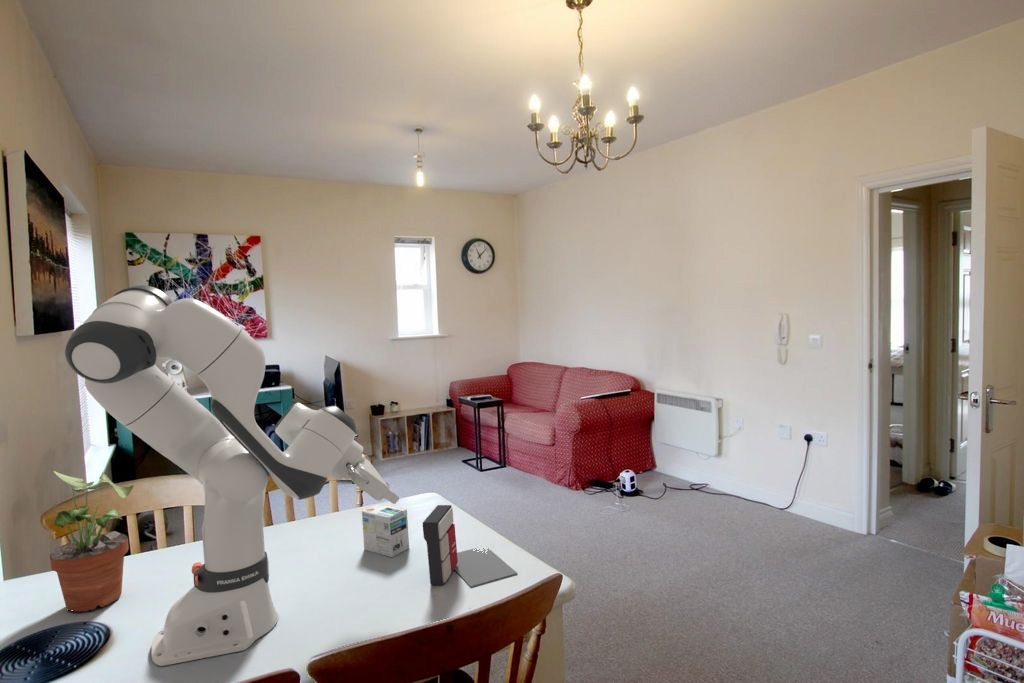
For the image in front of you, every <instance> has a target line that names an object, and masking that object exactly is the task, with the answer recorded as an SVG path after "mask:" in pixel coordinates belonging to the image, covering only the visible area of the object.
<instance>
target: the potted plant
mask: <svg viewBox="0 0 1024 683" xmlns="http://www.w3.org/2000/svg"><path fill="white" fill-rule="evenodd" d="M49 470H50V471H51V472H52V473H53V474H54V475H56V477H58V478H60V480H62V481H63V482H65V483H66V484H68V485H71V488H72V489H71V491H72V496H73V503H74V509H70V510H68V511H66V510H65V511H63V510H62V511H59V512H57V516H56V518H55V520H54V523H53V525H54V526H57V527H60V528H61V529H63V528H65V526H66V525H67V528H68V530H69V533H70V535H71V539H72V541H70V542H67V543H65V544H63V545H61V546H59V547H55V548H54V549H53V550H52V551H51V552H50V554H49V560H50V567H51V570H52V571H53V572H56V573H57V577H58V582H59V585H60V589H61V592H62V593H61V594H62V596H63V600H64V603H65V608H66V610H67V609H68V610H73V611H84V612H88V611H87V610H92V611H94V610H95V609H97V608H100V607H101V608H104V607H106V606H108V605H110V604H112V603H113V602H115V601H116V600H118V599H119V598H120V597H121V595H122V591H123V590H122V589H123V577H124V576H123V574H124V560H125V555H126V554H127V553H128V551H129V548H130V547H129V537H128V536H127V534H124V533H121V532H118V531H116V530H115V531H114V530H112V531H107V532H105V533H104V532H103V533H102V531H103V529H105V528H107V523H108V522H109V520H110V519H111V518H114V519H119V520H123V518H122V517H121V515H120V513H119V512H118V511H117V510H116V509H114V508H112V509H109V510H107V511H106V510H105V511H104V512H105V513H103V514H102V517H97V515H98V514H97V512H98V510H99V503H100V499H101V497H102V494H103V490H104V489H105V486H106V485H107V484H109V485H110V486H111V487H112V488H113V489H114V490H115V491H116V492H117V494H118V495H119V497H120V498H122V499H125V498H126V497H129V495H130V494H131V491H132V490H133V489H134V485H130V486H119V485H118V484H115V483H114V482H113V481H111V479H110V478H109V477H108V476H107V474H106V473H104V472H102V473H101V475H100V476H99V478H98V479H99V481H98V482H97V483H96V484H94V483H95V482H94V481H91V482H85V479H83V478H79V477H74V476H70V475H66V474H62V473H60V472H57V471H55V470H53V469H52V468H49ZM103 483H105V484H104V486H103V488H102V491H101V493H100V497H99V500H98V503H97V507H96V510H95V511H94V514H93V516H92V514H89V509H90V506H89V505H88V492H86V494H85V497H86V498H85V506H80V507H78V506H77V501H76V497H75V493H74V492H77V493H83V492H85V491H88V490H91V491H92V490H97V489H99V488H101V487H102V485H103ZM73 487H74V488H73ZM76 522H77V525H78V526H77V527H78V533H79V534H78V535H79V537H78V538H75V537H74V534H73V532H72V529H71V528H70V526H71V525H74V524H76ZM81 522H82V524H84V523H85V524H84V525H85V526H84V525H82V524H81ZM95 522H96V524H97V525H96V527H95V529H94V526H95ZM89 523H90V524H89ZM69 525H70V526H69ZM98 526H99V527H100V528H99V530H98V532H97V534H96V535H94V533H95V531H96V529H97V528H98ZM83 531H84V533H83ZM83 534H84V536H83ZM105 605H106V606H105ZM103 606H104V607H103ZM93 609H94V610H93Z"/></svg>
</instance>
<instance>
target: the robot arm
mask: <svg viewBox="0 0 1024 683" xmlns="http://www.w3.org/2000/svg"><path fill="white" fill-rule="evenodd" d="M64 351H65V352H64V354H65V360H66V361H67V364H68V366H69V367H70V368H71V369H72V371H74V373H76V374H77V375H78V376H80V377H81V378H83V379H84V386H85V388H86V390H87V391H88V393H89V394H90V395H91V397H93V399H94V400H95V401H96V402H97V403H98V404H99V405H100V406H101V408H103V409H104V410H105V411H106V412H107V413H108V414H109V415H110V416H112V417H113V418H114V419H115V420H116V421H117V422H118V423H120V424H121V425H122V426H123V427H125V428H126V429H128V430H129V431H130V432H131V433H132V434H134V435H135V436H137V437H138V438H139V439H141V440H142V441H143V442H144V443H145V444H147V445H148V446H150V447H151V448H152V449H154V450H155V451H156V452H158V453H159V454H161V455H162V456H163V457H165V458H166V459H168V460H169V461H171V462H172V463H173V464H175V465H176V466H177V467H179V468H180V469H182V470H183V471H184V472H186V473H187V474H188V475H189V476H191V477H192V478H193V479H195V480H196V481H197V482H198V483H200V484H201V485H202V488H203V490H204V513H203V514H204V515H203V523H202V525H201V526H202V527H201V533H202V534H201V535H202V536H201V537H202V548H203V550H202V551H203V562H204V563H202V562H200V561H197V562H195V563H193V565H192V566H191V574H192V575H193V587H191V588H190V589H189V590H188V591H187V592H186V593H185V594H183V596H181V597H180V598H179V599H178V600H176V601H175V602H174V603H173V605H172V606H171V607H170V609H169V611H168V613H167V615H166V618H165V620H164V626H163V628H161V630H159V631H158V633H157V634H156V635H155V637H154V638H153V641H152V644H151V651H150V654H151V655H150V656H151V660H152V662H153V663H154V664H155V665H157V666H160V667H164V666H169V665H174V664H179V663H180V664H181V663H184V662H190V661H195V660H201V659H205V658H210V657H212V658H213V657H217V656H221V655H228V654H231V653H237V652H242V651H245V650H247V649H249V647H251V645H253V643H254V642H255V641H257V640H258V639H259V638H260V637H262V636H264V635H266V634H267V633H268V632H270V631H271V630H272V629H273V628H274V627H275V626H276V624H277V622H278V620H279V616H278V613H277V611H276V608H275V605H274V602H273V598H272V595H271V591H270V587H269V586H270V584H269V581H270V564H269V557H268V554H267V552H266V551H265V550H266V549H265V536H264V520H263V519H264V518H263V517H264V508H265V507H264V505H265V498H266V497H265V496H266V488H267V486H268V483H269V480H270V478H271V479H272V480H273V482H274V483H275V485H276V487H278V488H279V489H280V491H282V493H284V494H285V495H287V496H289V497H291V498H293V499H296V500H298V501H300V500H301V501H302V500H306V499H309V498H312V497H315V496H318V495H319V494H320V492H322V489H324V486H325V484H326V483H327V481H328V479H329V476H330V477H332V478H333V479H334V480H335V481H340V480H343V479H345V480H346V481H347V480H351V481H352V482H353V484H355V486H357V487H358V488H359V489H361V490H362V491H363V492H365V493H366V494H367V495H368V496H370V497H371V498H372V499H374V500H375V501H378V502H381V501H382V500H383V499H384V500H386V501H388V502H390V503H391V504H393V505H396V504H397V503H398V501H399V500H400V496H398V495H397V494H396V493H394V491H392V490H391V489H390V484H389V483H388V482H387V481H386V480H385V479H383V477H382V476H381V475H380V473H379V472H378V471H377V469H376V468H375V467H374V465H373V464H372V463H371V462H370V461H369V459H367V458H366V455H365V454H363V452H364V446H362V445H361V444H360V443H359V442H357V441H356V440H355V438H356V436H357V426H356V422H355V419H353V418H352V417H351V416H350V415H348V414H347V413H346V412H345V411H343V410H342V409H340V408H339V407H338V406H336V405H331V406H324V407H322V408H321V407H320V408H318V409H317V410H316V409H312V408H310V407H308V406H306V405H304V404H302V403H301V402H295V403H293V404H292V405H291V406H290V407H289V408H288V409H287V410H286V412H285V413H284V414H283V415H282V416H281V418H280V419H279V420H278V422H277V423H276V425H275V428H274V432H275V434H276V435H277V436H278V437H279V438H280V439H281V440H282V441H283V442H284V443H285V444H286V445H288V446H287V448H286V449H285V450H284V451H282V450H281V448H279V446H278V445H277V444H275V442H274V441H273V440H272V439H271V438H270V437H269V436H268V434H266V433H265V431H264V430H263V429H261V427H260V426H259V425H258V423H257V422H256V418H255V406H256V402H257V397H258V395H259V391H260V390H261V387H262V384H263V382H264V379H265V372H266V358H265V357H266V356H265V353H264V350H263V348H262V346H261V345H260V344H259V343H258V342H257V340H255V339H254V338H253V337H252V336H251V335H249V334H248V333H247V332H246V331H245V330H244V329H243V328H242V327H240V326H239V325H237V324H236V323H235V322H234V321H232V320H231V319H230V318H228V317H226V316H225V315H224V314H222V313H221V312H219V311H217V310H216V309H214V308H212V307H211V306H209V305H207V304H206V303H204V302H202V301H200V300H199V299H195V298H191V297H186V298H181V299H178V300H175V301H173V300H172V299H171V298H170V297H169V296H168V295H167V294H166V293H165V292H163V291H162V290H161V289H159V288H157V287H155V286H151V285H145V284H143V285H133V286H130V287H126V288H123V289H122V290H119V291H117V292H116V293H115V294H114V295H113V296H112V297H110V298H109V299H107V300H105V301H104V302H103V303H102V304H100V305H99V306H98V307H96V308H95V309H94V310H93V311H92V313H91V314H90V315H89V316H88V317H87V319H86V320H84V322H83V323H82V324H80V325H79V326H77V328H75V329H74V331H73V332H72V334H71V335H70V337H69V338H68V340H67V343H66V345H65V350H64ZM157 358H169V359H172V360H174V361H176V362H177V363H179V364H181V365H182V366H184V367H185V368H186V369H187V370H189V371H190V372H191V373H192V374H194V375H196V376H197V377H198V378H199V379H200V380H201V381H202V382H203V383H204V384H205V386H206V388H207V390H208V391H209V393H210V396H211V398H212V400H211V403H210V409H211V411H212V412H211V411H210V410H208V408H206V407H205V406H204V405H203V404H201V403H200V402H199V400H197V399H196V398H194V397H193V396H192V395H191V394H190V393H189V392H187V391H186V390H185V389H184V388H183V387H182V386H181V385H179V384H178V383H177V382H176V381H174V380H173V379H172V378H171V377H169V376H168V375H167V374H166V373H164V371H162V370H161V369H160V368H159V367H158V366H157V365H156V361H157Z"/></svg>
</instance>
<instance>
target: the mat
mask: <svg viewBox="0 0 1024 683" xmlns="http://www.w3.org/2000/svg"><path fill="white" fill-rule="evenodd" d="M476 548H477V547H475V549H476ZM473 549H474V548H471V549H466V550H462V551H459V552H458V551H457V559H458V563H457V564H456V566H455V568H454V569H453V571H454V572H456V573H457V575H458V576H460V577H461V579H462V580H463V581H464V582H465V583H466V584H467V585H468V587H470V588H474V587H477V586H480V585H484V584H488V583H492V582H496V581H498V579H499V580H501V579H502V580H503V579H506V578H508V576H509V577H513V576H516V575H518V572H517V571H516V570H515V569H514V568H512V567H511V566H510V565H509V564H507V563H506V562H505V561H504V560H503V559H502V558H501V557H499V556H498V555H497V554H496V553H495V552H493V550H491V549H490V548H489V547H488V549H487V550H488V551H487V552H486V553H487V554H486V553H485V551H486V550H485V549H484V548H483V549H484V550H483V551H484V552H483V551H479V550H480V549H479V550H477V549H476V550H475V549H474V550H475V551H473ZM489 549H490V550H489ZM477 551H479V552H477ZM482 552H483V553H482ZM505 577H506V578H505Z"/></svg>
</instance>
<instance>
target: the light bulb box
mask: <svg viewBox="0 0 1024 683" xmlns="http://www.w3.org/2000/svg"><path fill="white" fill-rule="evenodd" d="M361 519H362V520H361V521H362V533H363V534H362V535H363V537H362V538H363V549H364V550H365V551H368V552H372V553H376V554H379V555H383V556H386V557H389V558H394V557H395V556H397V555H399V554H401V553H402V552H405V551H406V550H408V549H410V538H409V527H408V526H409V523H408V509H406V508H401V507H400V508H399V507H395V506H394V507H393V506H392V505H391V506H390V505H385V504H381V503H378V504H375V505H373V506H371V507H369V508H366V509H363V510H362V511H361Z"/></svg>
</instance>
